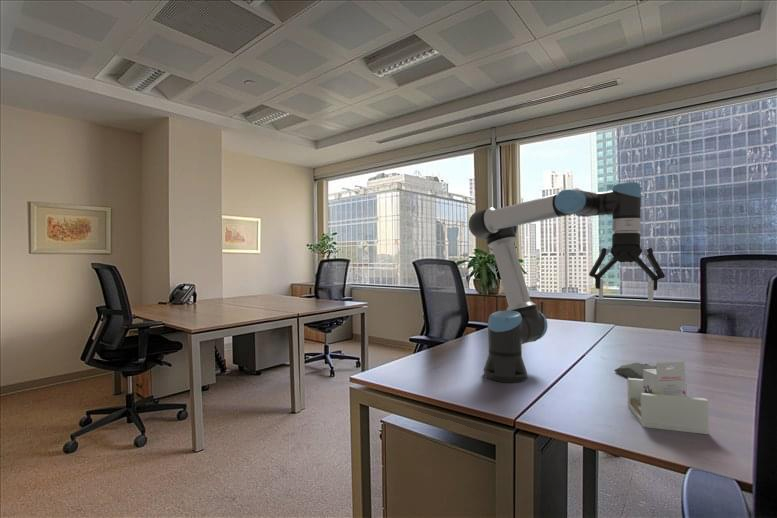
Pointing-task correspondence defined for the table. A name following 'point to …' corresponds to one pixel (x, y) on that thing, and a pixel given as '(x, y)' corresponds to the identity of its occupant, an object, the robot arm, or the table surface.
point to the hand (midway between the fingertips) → (625, 300)
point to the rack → (667, 410)
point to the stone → (633, 370)
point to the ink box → (665, 379)
